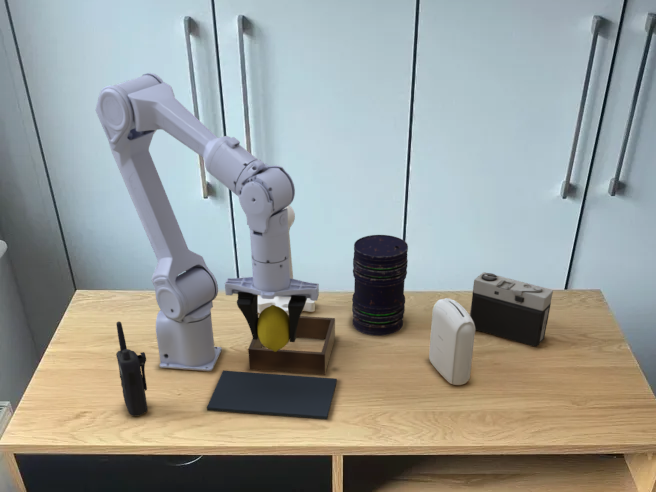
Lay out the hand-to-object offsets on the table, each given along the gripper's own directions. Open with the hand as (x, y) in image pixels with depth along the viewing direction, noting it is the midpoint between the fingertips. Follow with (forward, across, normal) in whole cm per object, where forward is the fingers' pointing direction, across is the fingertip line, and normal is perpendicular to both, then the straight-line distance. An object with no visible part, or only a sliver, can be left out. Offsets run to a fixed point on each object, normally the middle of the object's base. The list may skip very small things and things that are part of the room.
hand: (274, 337), depth 140 cm
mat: (+9, 0, -2) cm, 10 cm away
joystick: (+10, -3, +28) cm, 29 cm away
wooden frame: (+9, +1, +12) cm, 15 cm away
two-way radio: (+10, -21, -9) cm, 25 cm away
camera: (+10, +40, +26) cm, 49 cm away
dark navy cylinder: (+10, +15, +26) cm, 31 cm away
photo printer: (+10, +29, +10) cm, 32 cm away
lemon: (+3, 0, 0) cm, 3 cm away
